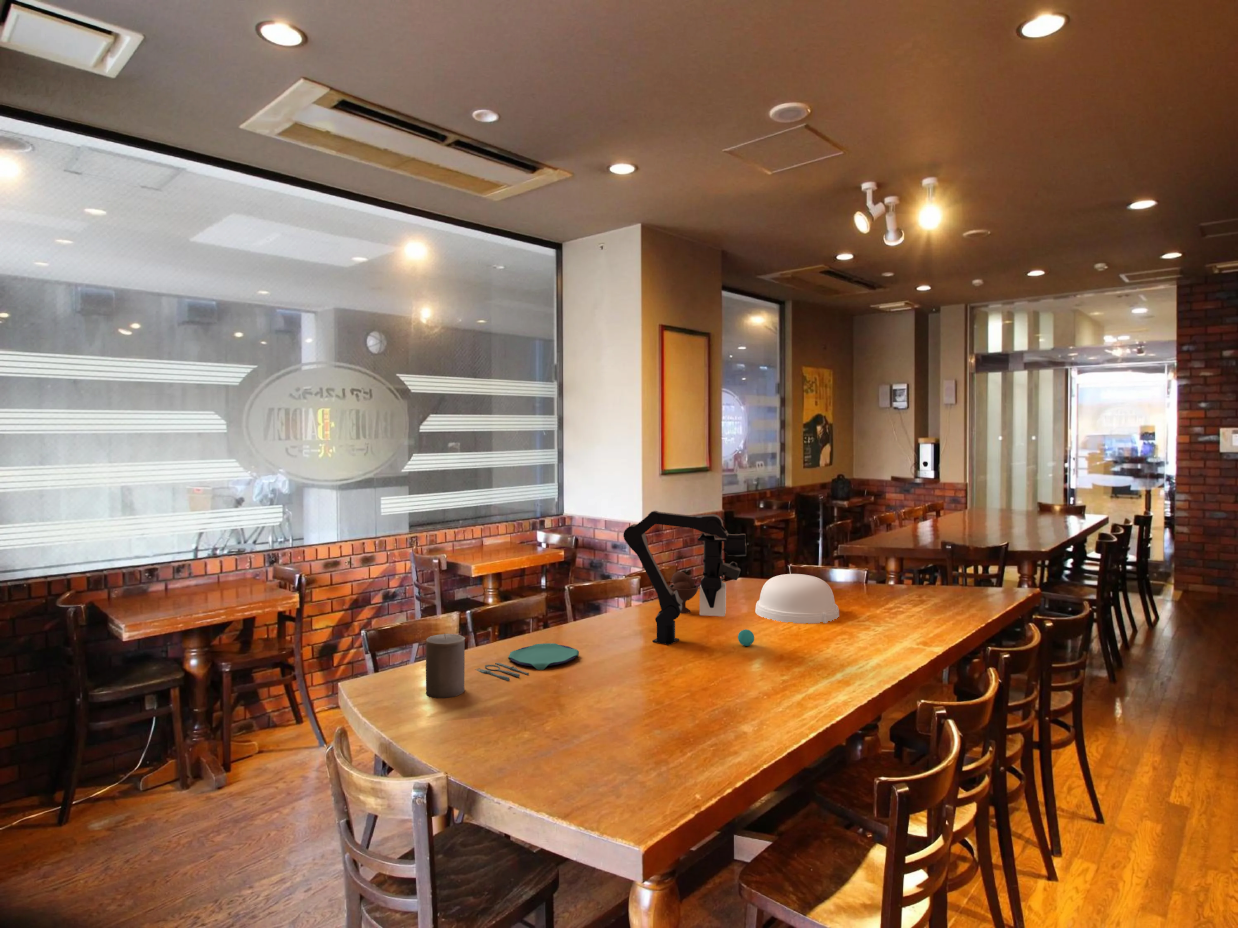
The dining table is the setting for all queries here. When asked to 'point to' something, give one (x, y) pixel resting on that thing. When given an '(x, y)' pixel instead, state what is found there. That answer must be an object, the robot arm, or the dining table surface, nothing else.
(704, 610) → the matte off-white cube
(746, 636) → the ball
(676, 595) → the robot arm
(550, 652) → the cutlery set
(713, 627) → the dining table surface
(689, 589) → the ice cream bowl
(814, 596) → the dome cover
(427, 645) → the pillar candle
